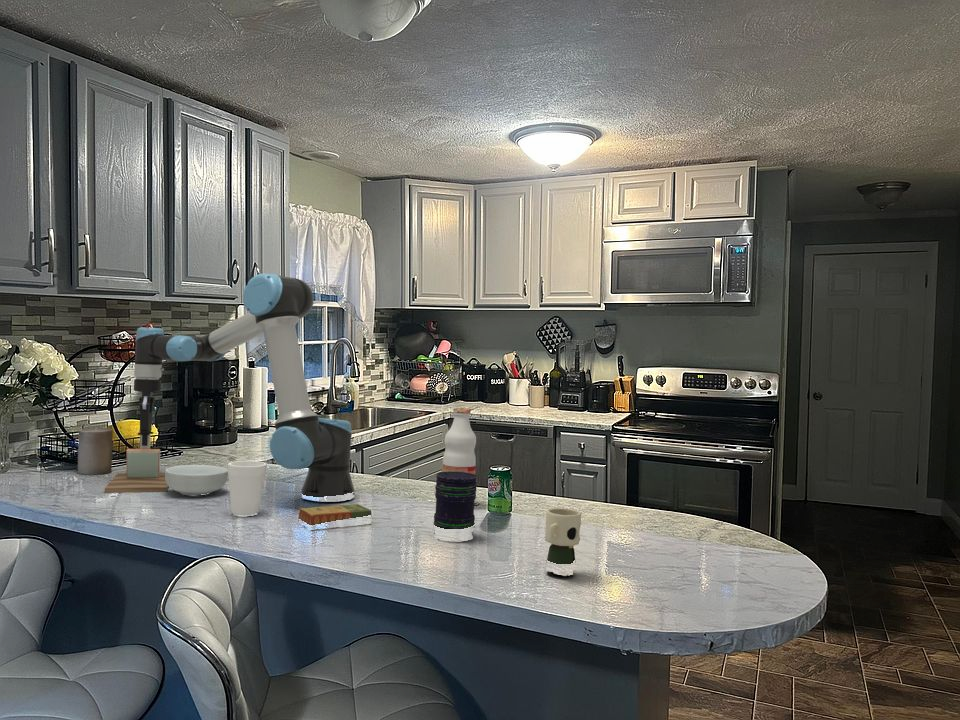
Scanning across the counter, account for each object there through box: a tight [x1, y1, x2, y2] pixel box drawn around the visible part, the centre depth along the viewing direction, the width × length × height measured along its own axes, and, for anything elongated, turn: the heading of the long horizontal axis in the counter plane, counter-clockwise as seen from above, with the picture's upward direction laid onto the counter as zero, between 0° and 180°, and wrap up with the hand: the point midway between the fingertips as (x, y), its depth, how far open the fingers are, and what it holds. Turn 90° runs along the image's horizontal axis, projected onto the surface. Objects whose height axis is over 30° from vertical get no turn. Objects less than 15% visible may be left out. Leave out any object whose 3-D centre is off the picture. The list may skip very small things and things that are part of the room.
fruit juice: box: [442, 407, 477, 475], centre depth 205 cm, size 9×9×28 cm
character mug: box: [544, 507, 582, 564], centre depth 146 cm, size 11×7×13 cm, turn 148°
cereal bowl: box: [164, 464, 229, 496], centre depth 204 cm, size 17×17×7 cm
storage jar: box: [433, 471, 477, 529], centre depth 171 cm, size 10×10×15 cm
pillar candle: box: [77, 425, 114, 476], centre depth 227 cm, size 10×10×15 cm
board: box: [104, 472, 170, 494], centre depth 213 cm, size 24×16×1 cm, turn 19°
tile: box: [125, 448, 161, 478], centre depth 215 cm, size 2×9×9 cm, turn 108°
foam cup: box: [227, 460, 268, 515], centre depth 183 cm, size 10×9×13 cm
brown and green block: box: [298, 503, 372, 525], centre depth 178 cm, size 8×16×4 cm, turn 125°
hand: (144, 455), depth 217 cm, fingers closed
